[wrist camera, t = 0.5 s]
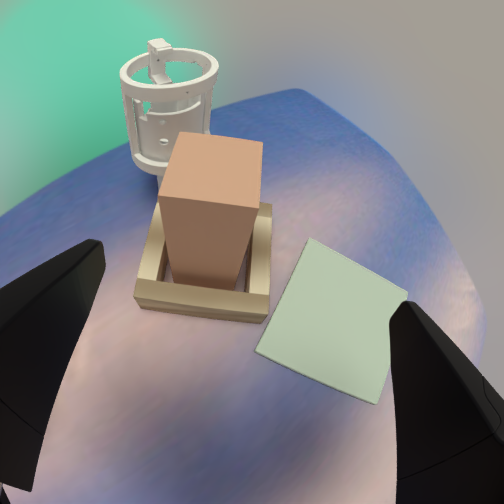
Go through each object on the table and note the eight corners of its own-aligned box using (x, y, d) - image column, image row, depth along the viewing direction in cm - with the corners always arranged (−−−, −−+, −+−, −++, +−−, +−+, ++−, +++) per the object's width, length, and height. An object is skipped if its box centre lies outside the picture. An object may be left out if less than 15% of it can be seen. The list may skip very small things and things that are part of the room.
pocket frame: (260, 323, 24) (268, 314, 21) (140, 308, 22) (133, 296, 20) (265, 222, 28) (272, 204, 26) (163, 209, 27) (160, 189, 25)
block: (232, 292, 25) (259, 208, 14) (174, 284, 24) (157, 195, 13) (237, 241, 27) (262, 142, 16) (183, 234, 26) (179, 131, 16)
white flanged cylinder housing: (189, 155, 31) (196, 31, 18) (219, 198, 29) (239, 61, 16) (131, 176, 28) (110, 48, 15) (153, 225, 26) (131, 83, 13)
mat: (373, 404, 22) (376, 404, 21) (253, 351, 22) (255, 350, 22) (404, 294, 27) (408, 292, 27) (307, 240, 28) (309, 237, 28)
